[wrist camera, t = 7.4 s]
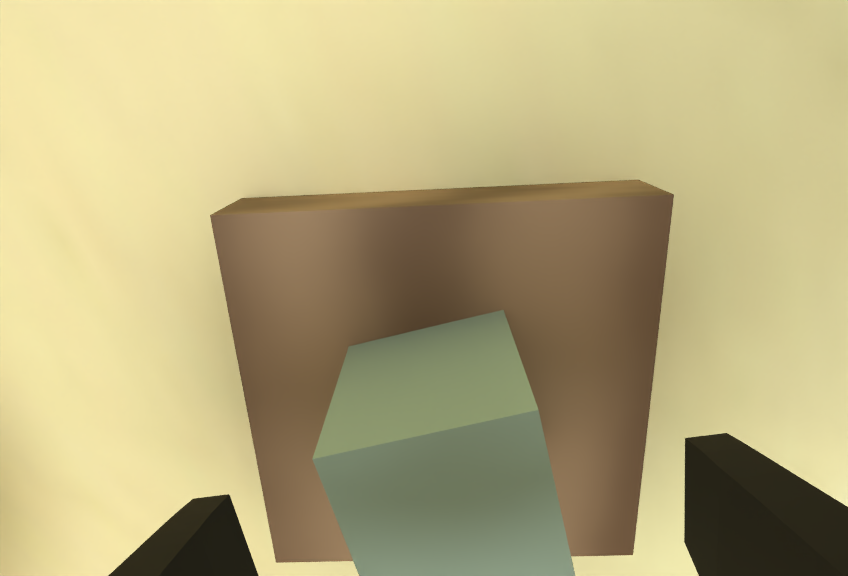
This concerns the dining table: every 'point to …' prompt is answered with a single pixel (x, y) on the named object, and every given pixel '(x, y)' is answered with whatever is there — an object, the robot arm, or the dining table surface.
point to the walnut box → (446, 302)
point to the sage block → (442, 457)
